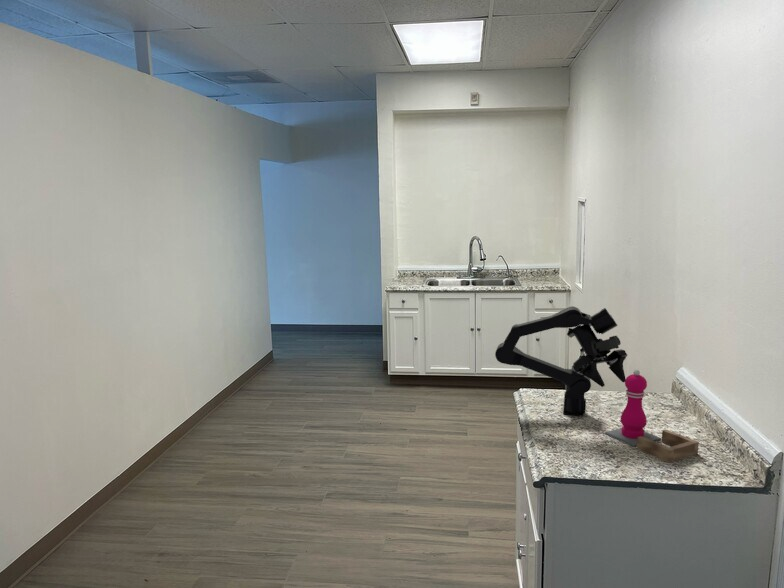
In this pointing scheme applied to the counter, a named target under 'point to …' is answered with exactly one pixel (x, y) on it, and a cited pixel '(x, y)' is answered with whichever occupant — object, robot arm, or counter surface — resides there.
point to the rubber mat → (630, 441)
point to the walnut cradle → (678, 451)
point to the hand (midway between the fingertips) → (614, 383)
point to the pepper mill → (634, 407)
